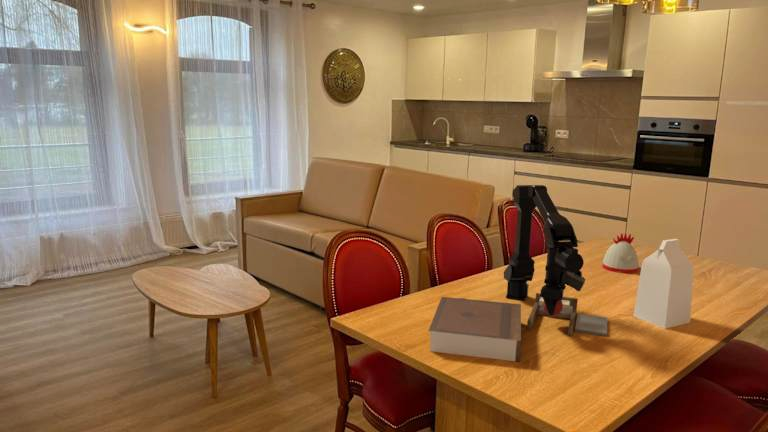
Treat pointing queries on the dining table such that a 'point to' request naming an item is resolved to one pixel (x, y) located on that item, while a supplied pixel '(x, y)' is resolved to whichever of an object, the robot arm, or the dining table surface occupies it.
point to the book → (477, 329)
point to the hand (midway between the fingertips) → (552, 311)
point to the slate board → (591, 324)
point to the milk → (665, 287)
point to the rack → (572, 300)
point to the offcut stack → (563, 314)
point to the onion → (557, 309)
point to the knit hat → (621, 256)
